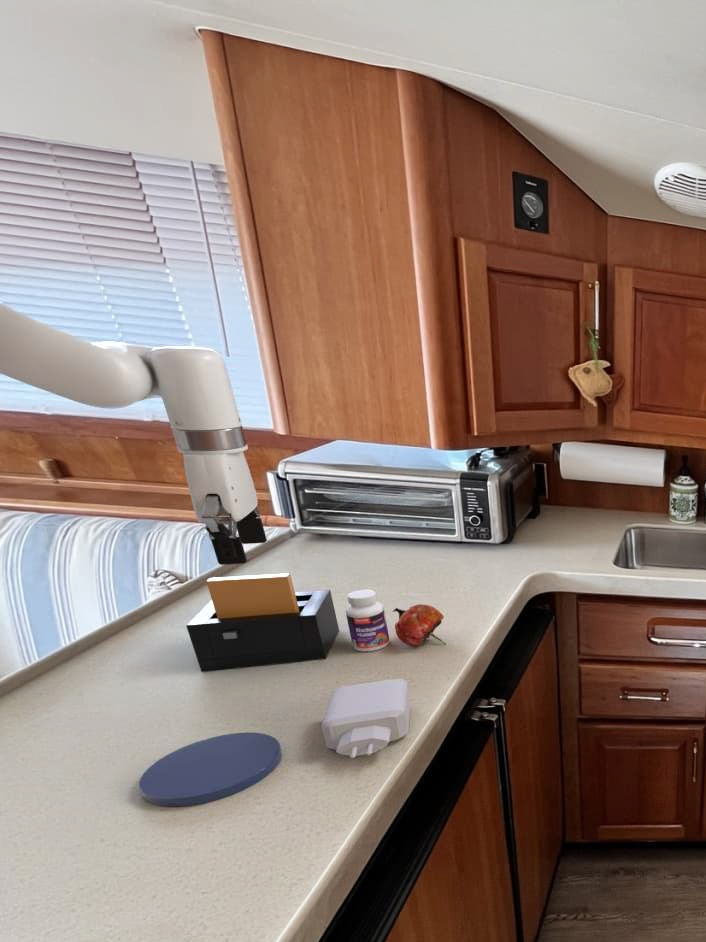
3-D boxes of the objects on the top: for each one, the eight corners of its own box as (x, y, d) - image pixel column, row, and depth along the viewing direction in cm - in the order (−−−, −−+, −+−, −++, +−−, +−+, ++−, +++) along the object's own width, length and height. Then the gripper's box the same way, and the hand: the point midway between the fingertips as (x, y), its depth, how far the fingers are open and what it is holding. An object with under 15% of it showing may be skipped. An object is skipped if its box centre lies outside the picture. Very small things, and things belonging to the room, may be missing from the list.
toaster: (199, 674, 97) (183, 627, 94) (226, 640, 107) (213, 597, 104) (324, 661, 104) (314, 617, 101) (339, 630, 114) (330, 589, 111)
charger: (320, 780, 78) (337, 716, 90) (406, 763, 82) (412, 704, 95) (311, 748, 77) (330, 687, 89) (400, 733, 81) (407, 677, 93)
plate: (119, 817, 70) (116, 809, 70) (169, 750, 81) (166, 742, 81) (265, 793, 76) (262, 785, 75) (294, 732, 86) (292, 725, 86)
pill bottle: (358, 655, 106) (347, 602, 103) (349, 644, 110) (337, 592, 106) (394, 646, 110) (385, 595, 106) (384, 635, 113) (374, 585, 110)
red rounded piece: (452, 644, 117) (407, 609, 115) (467, 622, 113) (421, 585, 112) (422, 666, 110) (374, 629, 109) (437, 643, 107) (387, 604, 105)
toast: (227, 651, 100) (206, 581, 96) (230, 647, 102) (209, 577, 97) (304, 644, 104) (287, 576, 100) (306, 639, 106) (290, 573, 101)
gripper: (201, 429, 96) (232, 537, 103) (149, 451, 82) (190, 574, 88) (262, 430, 99) (289, 534, 106) (223, 451, 85) (257, 570, 91)
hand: (244, 552), depth 97 cm, fingers open, 9 cm apart
